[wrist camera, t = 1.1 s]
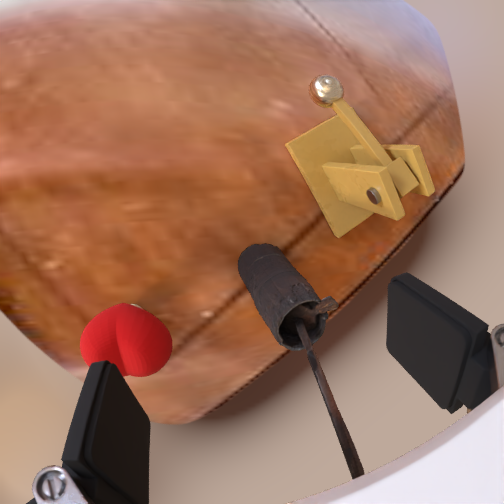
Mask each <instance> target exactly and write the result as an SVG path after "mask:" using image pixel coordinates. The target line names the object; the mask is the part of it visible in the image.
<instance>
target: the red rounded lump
mask: <svg viewBox="0 0 504 504" xmlns="http://www.w3.org/2000/svg"><path fill="white" fill-rule="evenodd" d="M80 350H81V354H82V357H83V359H84V361H85V362H86V363H87V365H88V366H89V367H90V365H91V363H93V362H99V361H104V360H108V361H109V362H110V363H111V364H112V363H114V364H115V365H116V366H117V367H118V369H119V371H120V373H121V374H122V376H123V377H124V376H128V375H131V376H135V377H144V376H149V375H151V374H154V373H156V372H157V371H159V370H160V369H161V368H162V367H163V366H164V365H165V364H166V362H167V361H168V360H169V358H170V355H171V352H172V338H171V335H170V333H169V331H168V329H167V328H166V326H165V325H164V324H163V323H162V322H161V321H160V320H159V319H158V318H156V317H155V316H154V315H152V314H151V313H149V312H147V311H146V310H144V309H142V308H141V307H140V306H138V305H136V304H126V303H121V304H118V305H115V306H112V307H110V308H108V309H106V310H104V311H102V312H101V313H99V314H98V315H97V316H95V317H94V318H93V319H92V320H91V321H90V322H89V323H88V325H87V326H86V327H85V329H84V331H83V333H82V336H81V340H80Z"/></svg>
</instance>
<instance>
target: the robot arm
mask: <svg viewBox="0 0 504 504" xmlns="http://www.w3.org/2000/svg"><path fill="white" fill-rule="evenodd" d="M488 326H489V325H487V324H486V323H485V322H483V321H482V320H481V319H479V318H478V317H476V316H475V315H473V314H472V313H470V312H469V311H467V310H466V309H464V308H463V307H461V306H460V305H458V304H457V303H455V302H454V301H452V300H450V299H449V298H447V297H446V296H444V295H443V294H441V293H440V292H438V291H437V290H435V289H433V288H432V287H430V286H429V285H427V284H425V283H424V282H422V281H421V280H419V279H417V278H416V277H414V276H412V275H411V274H409V273H403V274H401V275H398V276H395V277H393V278H392V279H391V283H389V285H388V313H387V341H386V346H387V349H388V351H389V353H390V354H391V355H392V356H393V357H394V358H395V359H396V360H397V361H398V362H399V363H400V364H401V365H402V366H403V368H404V369H405V370H406V371H407V372H408V373H409V374H410V375H411V376H412V377H413V378H414V379H415V380H416V381H417V383H418V384H419V385H420V386H421V387H422V388H423V389H424V390H425V391H426V392H427V393H428V394H429V395H430V396H431V397H432V399H433V400H434V401H435V402H436V403H437V404H438V405H439V406H440V407H441V408H442V409H447V410H448V411H449V412H450V413H451V414H452V413H454V412H455V411H457V410H458V409H459V408H461V407H462V406H463V404H464V405H465V406H466V407H467V414H466V415H465V416H464V417H462V418H461V419H459V420H458V421H457V422H455V423H454V424H452V425H451V426H449V427H448V428H447V429H445V430H444V431H442V432H441V433H439V434H437V435H436V436H435V437H433V438H431V439H430V440H428V441H426V442H425V443H423V444H422V445H420V446H418V447H416V448H415V449H413V450H411V451H409V452H408V453H406V454H404V455H402V456H400V457H399V458H397V459H395V460H393V461H391V462H389V463H387V464H385V465H383V466H381V467H379V468H377V469H375V470H373V471H371V472H369V473H367V474H364V475H362V476H360V477H358V478H355V479H353V480H351V481H348V482H346V483H344V484H341V485H339V486H336V487H334V488H331V489H328V490H326V491H323V492H320V493H318V494H315V495H312V496H309V497H306V498H303V499H299V500H296V501H293V502H290V503H286V504H504V324H500V325H498V326H496V327H495V328H494V329H493V330H492V332H491V334H490V333H489V332H487V330H488ZM149 447H150V420H149V418H148V416H147V414H146V413H145V411H144V410H143V408H142V407H141V405H140V404H139V402H138V400H137V399H136V397H135V396H134V394H133V393H132V391H131V389H130V388H129V386H128V384H127V383H126V381H125V379H124V378H123V376H122V374H121V373H120V371H119V369H118V367H117V366H116V365H115V364H114V363H112V364H111V363H110V362H109V361H108V360H104V361H99V362H93V363H91V365H90V368H89V370H88V373H87V376H86V379H85V382H84V385H83V387H82V391H81V393H80V397H79V400H78V403H77V406H76V409H75V412H74V416H73V419H72V422H71V425H70V429H69V433H68V436H67V440H66V443H65V448H64V451H63V455H62V459H61V460H62V461H63V464H62V467H60V466H55V465H53V466H48V467H45V468H43V469H42V470H41V471H40V472H38V473H37V475H36V476H35V478H34V481H33V485H32V491H33V494H34V498H33V499H32V500H30V501H29V502H28V503H26V504H149Z"/></svg>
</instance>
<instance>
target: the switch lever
mask: <svg viewBox="0 0 504 504" xmlns="http://www.w3.org/2000/svg"><path fill="white" fill-rule="evenodd" d="M309 95H310V97H311V99H312V100H313V102H314V103H316V104H317V105H319V106H321V107H324V108H332V109H333V110H334V111H335V112H336V114H337V115H338V116H339V117H340V118H341V120H342V121H343V122H344V123H345V124H346V126H347V127H348V128H349V129H350V131H351V132H352V133H353V134H354V136H355V137H356V138H357V139H358V141H359V142H360V143H361V145H362V146H363V147H364V149H365V150H366V151H367V153H368V154H369V155H370V157H371V158H372V159H373V161H374V162H375V163H376V165H377V166H382V167H387V169H388V171H389V173H390V176H391V178H392V181H393V183H394V186H395V188H396V191H397V193H398V196H399V198H402V197H403V196H405V195H406V194H407V193H409V192H410V191H411V190H413V189H414V188H415V187H417V186H418V185H419V182H418V181H417V179H416V178H415V176H414V175H413V173H412V172H411V170H410V169H409V168H408V166H407V165H406V163H405V162H404V160H403V159H402V158H401V157H399V158H397V159H396V160H394V161H392V160H391V158H390V157H389V155H388V154H387V153H386V151H385V150H384V149H383V147H382V146H381V145H380V143H379V142H378V141H377V139H376V138H375V137H374V135H373V134H372V133H371V132H370V130H369V129H368V128H367V127H366V125H365V124H364V123H363V122H362V120H361V119H360V118H359V117H358V116H357V114H356V113H355V112H354V111H353V110H352V108H351V107H350V106H349V105H348V104H347V103H346V101H345V100H344V99H343V96H344V88H343V85H342V83H341V82H340V81H339V80H338V79H337V78H336V77H334V76H331V75H327V74H324V75H319V76H317V77H315V78H314V79H313V80H312V81H311V83H310V85H309Z"/></svg>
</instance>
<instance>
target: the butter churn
mask: <svg viewBox="0 0 504 504" xmlns="http://www.w3.org/2000/svg"><path fill="white" fill-rule="evenodd" d="M238 270H239V274H240V276H241V278H242V280H243V282H244V283H245V285H246V287H247V289H248V291H249V293H251V296H252V298H253V300H254V303H255V306H256V308H257V310H258V312H259V314H260V315H261V316H262V318H263V320H264V321H265V323H266V325H267V326H268V327H269V328H270V330H271V332H272V334H273V335H274V337H275V339H276V340H277V342H279V344H280V345H282V346H284V347H286V348H287V349H289V350H291V351H300V350H302V349H306V350H307V355H308V360H309V362H310V364H311V367H312V370H313V372H314V375H315V377H316V380H317V383H318V385H319V388H320V391H321V393H322V396H323V398H324V401H325V404H326V406H327V409H328V412H329V415H330V417H331V420H332V423H333V426H334V428H335V431H336V434H337V437H338V439H339V442H340V445H341V448H342V451H343V453H344V456H345V459H346V462H347V465H348V467H349V470H350V473H351V476H352V479H355V478H358V477H360V476H362V475H364V470H363V467H362V464H361V462H360V459H359V456H358V454H357V451H356V449H355V446H354V443H353V441H352V439H351V436H350V434H349V431H348V429H347V427H346V425H345V423H344V421H343V418H342V416H341V414H340V412H339V410H338V408H337V405H336V403H335V400H334V398H333V395H332V392H331V390H330V387H329V385H328V383H327V380H326V377H325V375H324V373H323V370H322V368H321V366H320V362H319V360H318V358H317V356H316V353H315V352H314V350H313V347H312V345H313V344H314V343H315V342H316V341H318V339H319V338H320V337H321V336H322V334H323V332H324V329H325V325H326V319H328V313H327V311H330V310H335V309H337V308H338V306H339V305H338V303H337V302H336V301H335V299H333V298H332V297H331V296H328V297H326V298H324V299H322V300H320V298H319V297H318V295H317V294H316V293H315V292H314V289H313V288H312V286H311V285H310V284H309V283H308V282H307V280H306V279H305V278H304V277H303V276H302V275H300V273H299V272H298V271H297V270H296V269H295V268H294V267H293V266H292V265H291V263H290V262H289V261H288V259H287V258H286V257H285V256H284V254H283V253H282V252H281V250H280V249H279V248H278V247H277V246H276V247H274V246H273V245H271V244H261V245H259V244H254V245H251V246H250V247H248V248H246V250H245V251H244V252H243V253H241V255H240V257H239V260H238Z"/></svg>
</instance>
